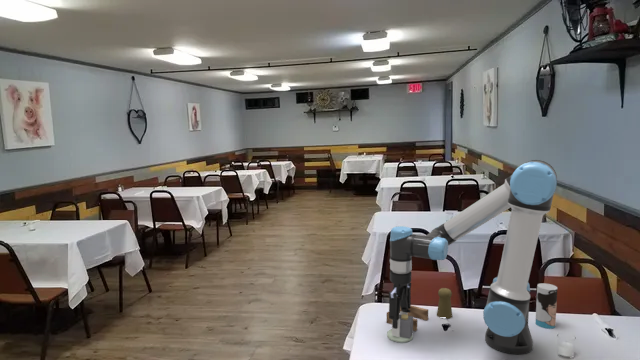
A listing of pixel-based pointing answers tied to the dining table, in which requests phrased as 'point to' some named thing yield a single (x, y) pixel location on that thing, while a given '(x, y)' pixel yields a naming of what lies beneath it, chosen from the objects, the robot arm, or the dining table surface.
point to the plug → (406, 326)
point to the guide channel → (414, 315)
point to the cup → (546, 305)
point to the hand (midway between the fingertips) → (399, 332)
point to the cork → (444, 303)
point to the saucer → (397, 339)
